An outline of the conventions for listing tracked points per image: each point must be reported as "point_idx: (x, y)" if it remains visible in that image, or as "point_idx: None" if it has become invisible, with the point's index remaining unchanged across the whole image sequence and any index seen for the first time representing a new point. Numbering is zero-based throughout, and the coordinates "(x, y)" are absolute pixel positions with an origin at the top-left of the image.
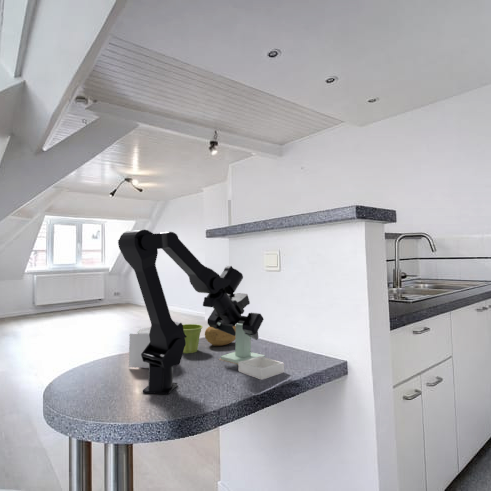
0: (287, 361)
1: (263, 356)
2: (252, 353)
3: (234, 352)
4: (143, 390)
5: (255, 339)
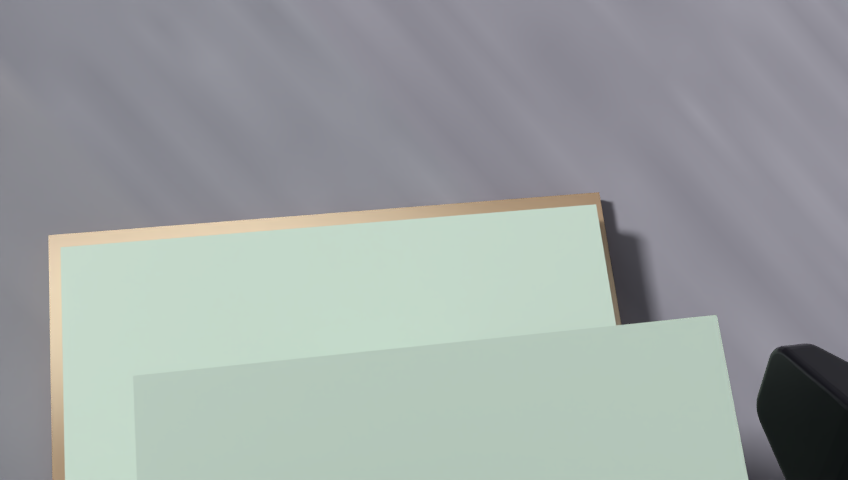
0: (815, 67)
1: (600, 247)
2: (380, 266)
3: (92, 463)
4: None
5: (792, 462)
